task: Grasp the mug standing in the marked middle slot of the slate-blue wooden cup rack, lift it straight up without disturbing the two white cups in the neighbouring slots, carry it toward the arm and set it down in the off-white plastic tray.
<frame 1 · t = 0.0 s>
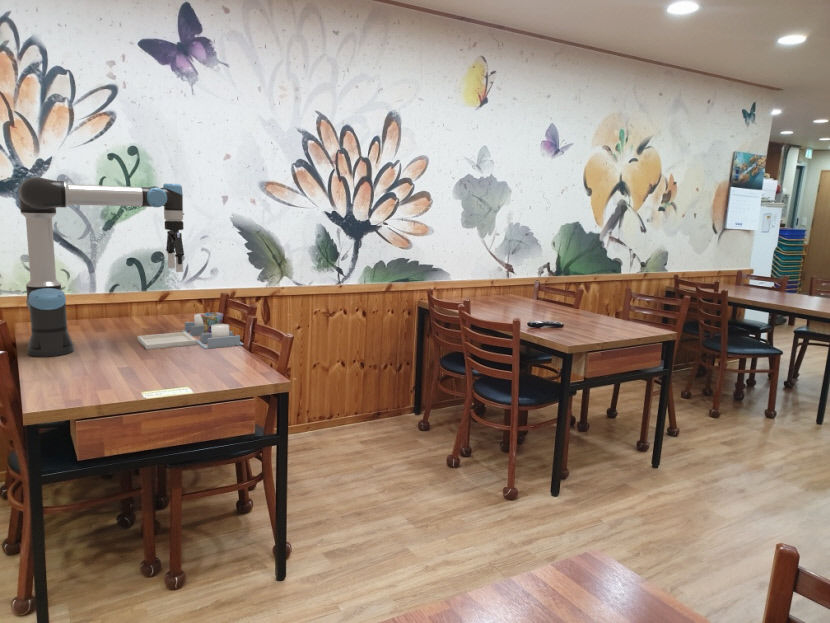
hand: (175, 270, 264), 28 cm above the table, fingers open, 13 cm apart
mug: (211, 338, 263), resting in rack
cup far: (202, 332, 273), resting in rack
cup near: (220, 344, 253), resting in rack
rack: (211, 338, 263), on the table
tray: (166, 342, 252), on the table
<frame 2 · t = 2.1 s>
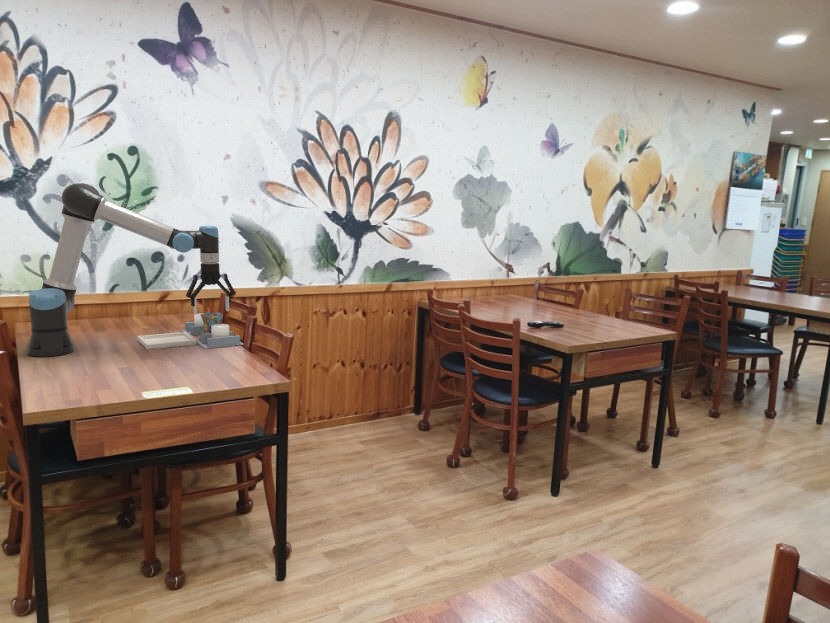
hand: (211, 312, 261), 11 cm above the table, fingers open, 13 cm apart
nothing on the table moved.
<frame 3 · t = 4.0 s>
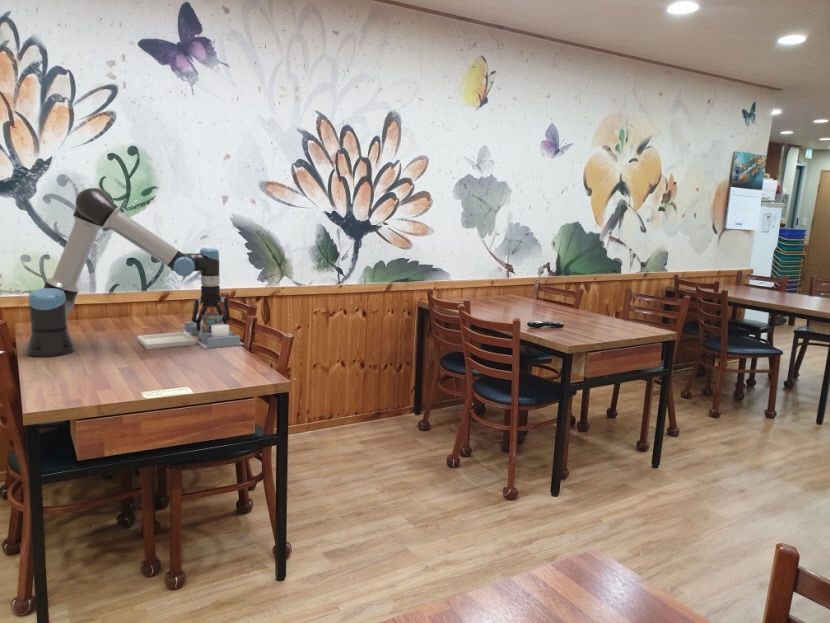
hand: (211, 337, 263), 0 cm above the table, fingers closed on mug, 8 cm apart
mug: (211, 338, 263), resting in rack, touching gripper
everything else where it was.
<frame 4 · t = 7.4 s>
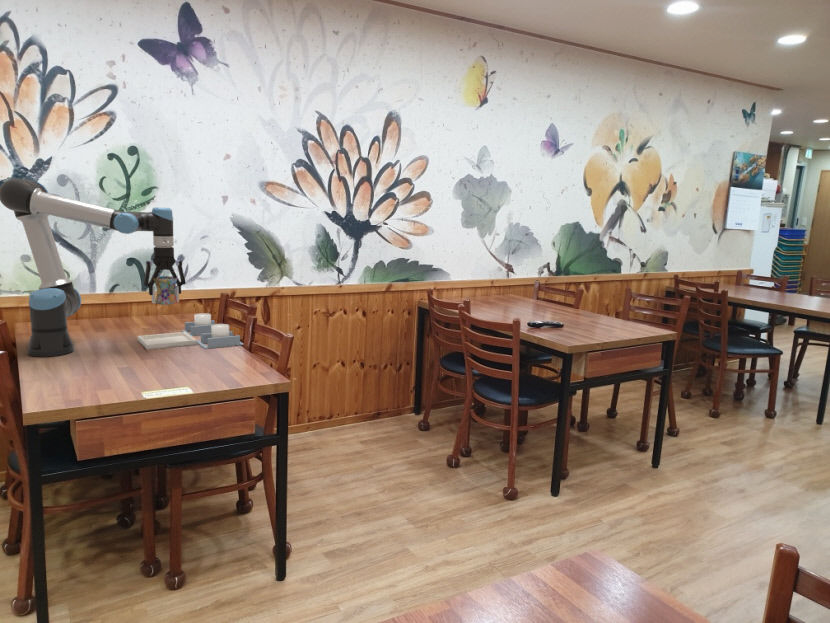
hand: (165, 302, 249), 17 cm above the table, fingers closed on mug, 8 cm apart
mug: (165, 303, 249), point 16 cm above the table, touching gripper
everything else where it was.
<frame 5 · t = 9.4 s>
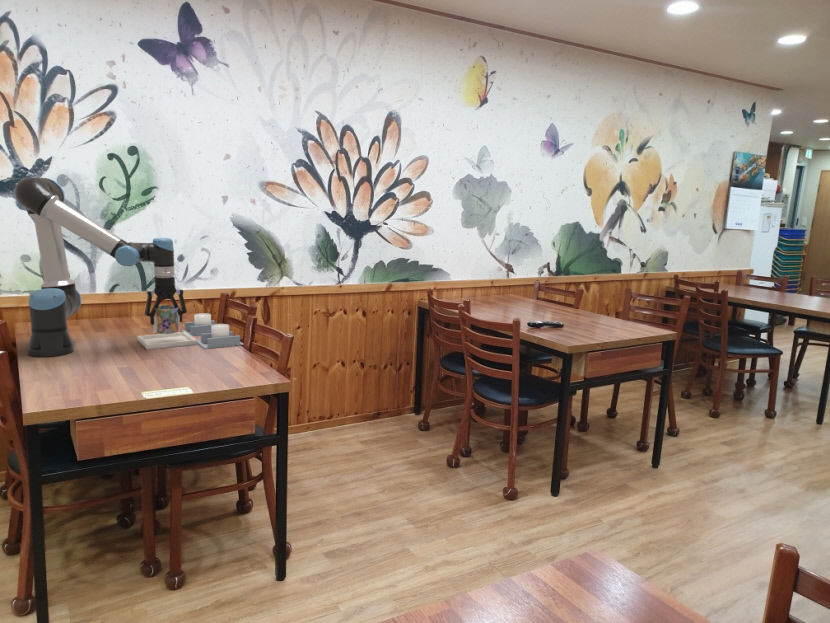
hand: (166, 331, 251), 5 cm above the table, fingers closed on mug, 8 cm apart
mug: (166, 332, 251), point 4 cm above the table, touching gripper
everything else where it was.
when the fingers open (2 cm above the table, at t = 10.9 s): mug drops 1 cm, resting on tray.
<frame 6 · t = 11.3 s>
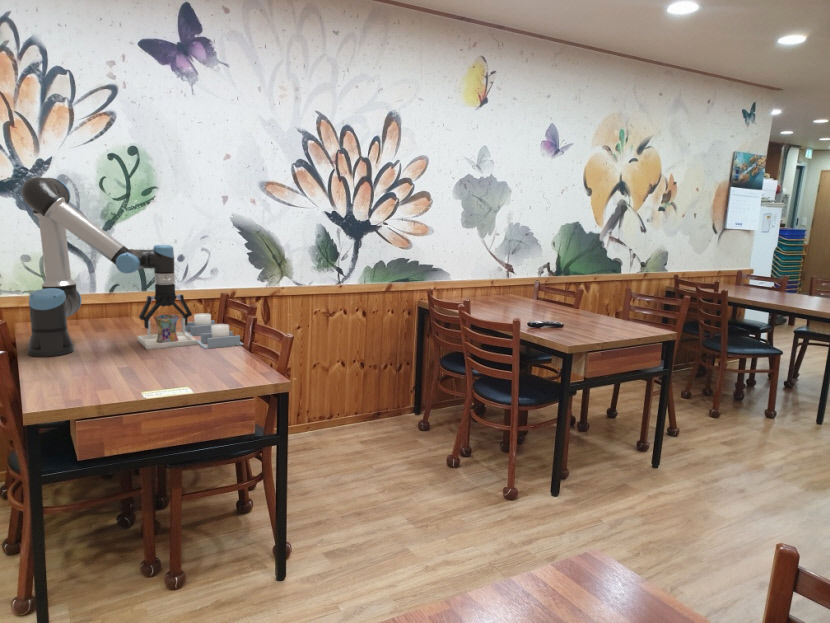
hand: (166, 334, 251), 3 cm above the table, fingers open, 13 cm apart
mug: (166, 341, 251), resting on tray
everything else where it was.
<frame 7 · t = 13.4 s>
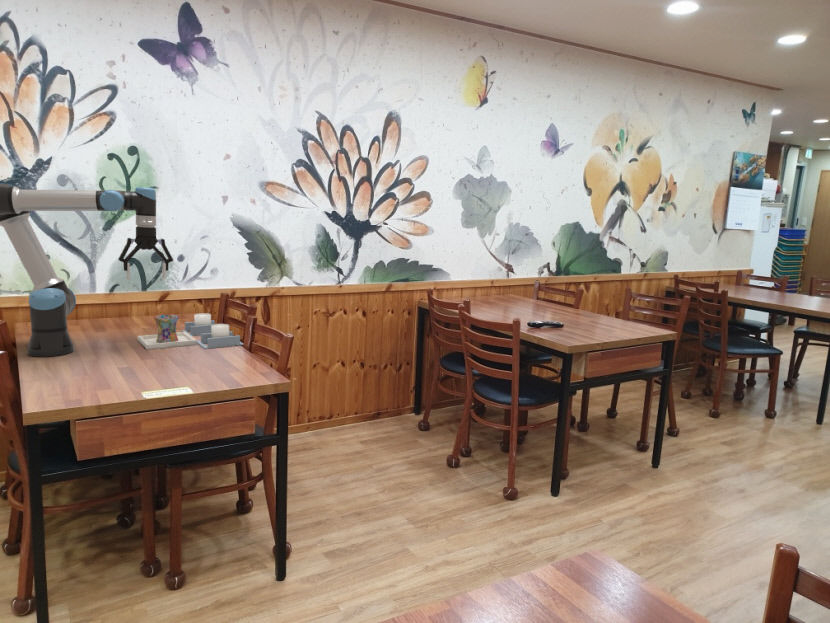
hand: (146, 278, 248), 26 cm above the table, fingers open, 13 cm apart
nothing on the table moved.
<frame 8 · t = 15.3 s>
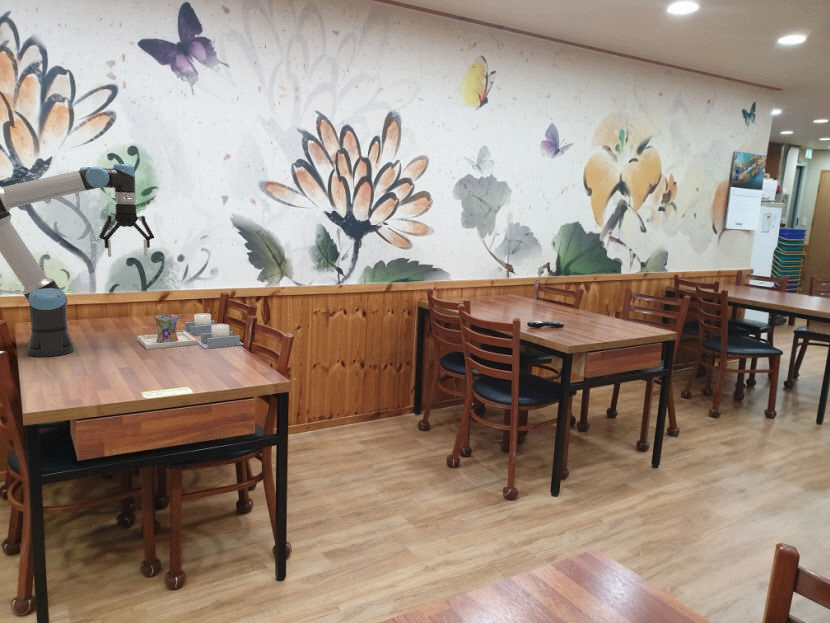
hand: (128, 256, 249), 35 cm above the table, fingers open, 13 cm apart
nothing on the table moved.
at the end: mug inside the target area on the tray (0.2 cm from its centre), point 0.4 cm above the tray's base; mug tilted 0°; cup near moved 0.1 cm from its start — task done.
